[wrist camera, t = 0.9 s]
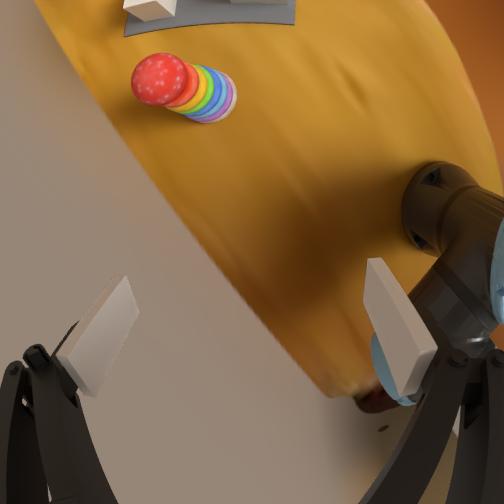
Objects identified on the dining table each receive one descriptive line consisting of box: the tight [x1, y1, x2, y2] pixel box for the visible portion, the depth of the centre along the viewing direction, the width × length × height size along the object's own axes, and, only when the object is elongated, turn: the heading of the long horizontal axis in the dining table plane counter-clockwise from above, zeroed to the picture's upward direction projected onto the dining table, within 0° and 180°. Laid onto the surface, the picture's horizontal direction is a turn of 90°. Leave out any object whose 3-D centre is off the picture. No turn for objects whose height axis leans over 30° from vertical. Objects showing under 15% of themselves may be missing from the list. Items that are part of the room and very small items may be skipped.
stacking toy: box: [131, 53, 237, 123], centre depth 26 cm, size 8×8×19 cm
